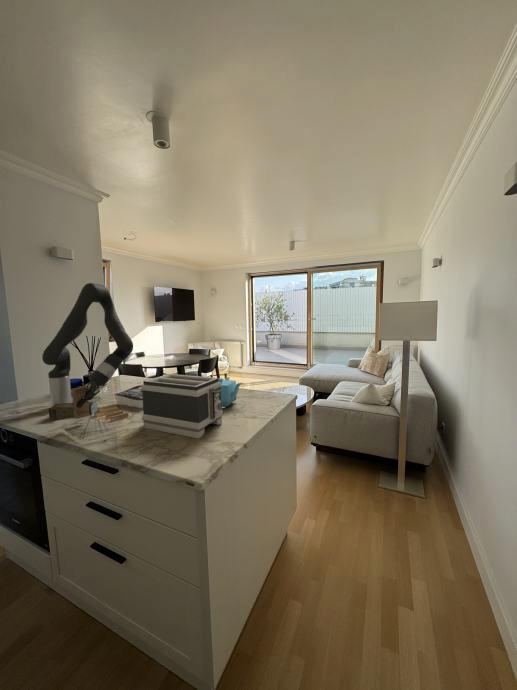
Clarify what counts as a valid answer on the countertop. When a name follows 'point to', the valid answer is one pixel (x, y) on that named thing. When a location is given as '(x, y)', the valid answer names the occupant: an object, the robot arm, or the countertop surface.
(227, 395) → the teakettle
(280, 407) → the countertop surface
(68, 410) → the beverage carton
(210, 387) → the toaster
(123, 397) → the food packaging
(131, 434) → the countertop surface
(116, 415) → the oak rack
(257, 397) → the countertop surface
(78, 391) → the brown wooden block
